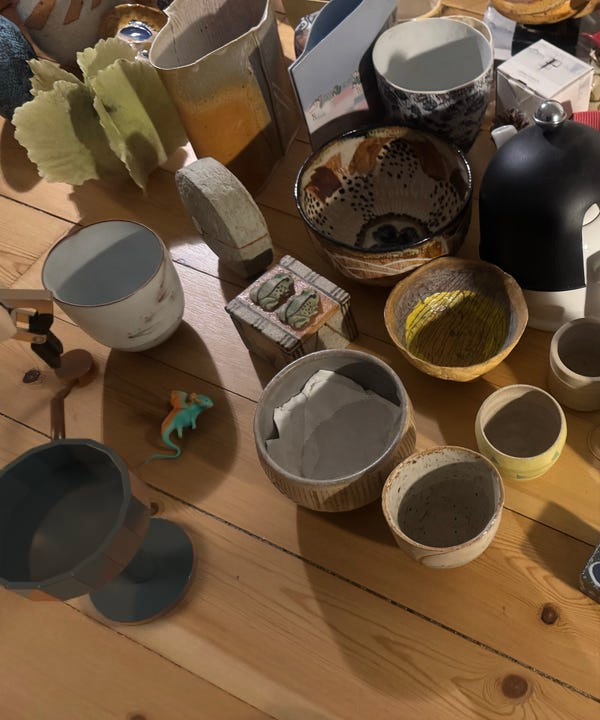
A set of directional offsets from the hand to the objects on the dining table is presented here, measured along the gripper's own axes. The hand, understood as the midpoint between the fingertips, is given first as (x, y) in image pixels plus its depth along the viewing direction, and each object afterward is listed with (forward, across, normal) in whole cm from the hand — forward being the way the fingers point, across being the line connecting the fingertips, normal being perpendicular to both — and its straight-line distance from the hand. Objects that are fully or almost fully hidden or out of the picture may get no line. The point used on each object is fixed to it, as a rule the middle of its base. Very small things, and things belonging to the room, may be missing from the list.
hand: (6, 372), depth 69 cm
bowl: (+17, -5, +17) cm, 25 cm away
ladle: (+17, +1, -4) cm, 17 cm away
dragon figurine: (+17, -10, +1) cm, 20 cm away
